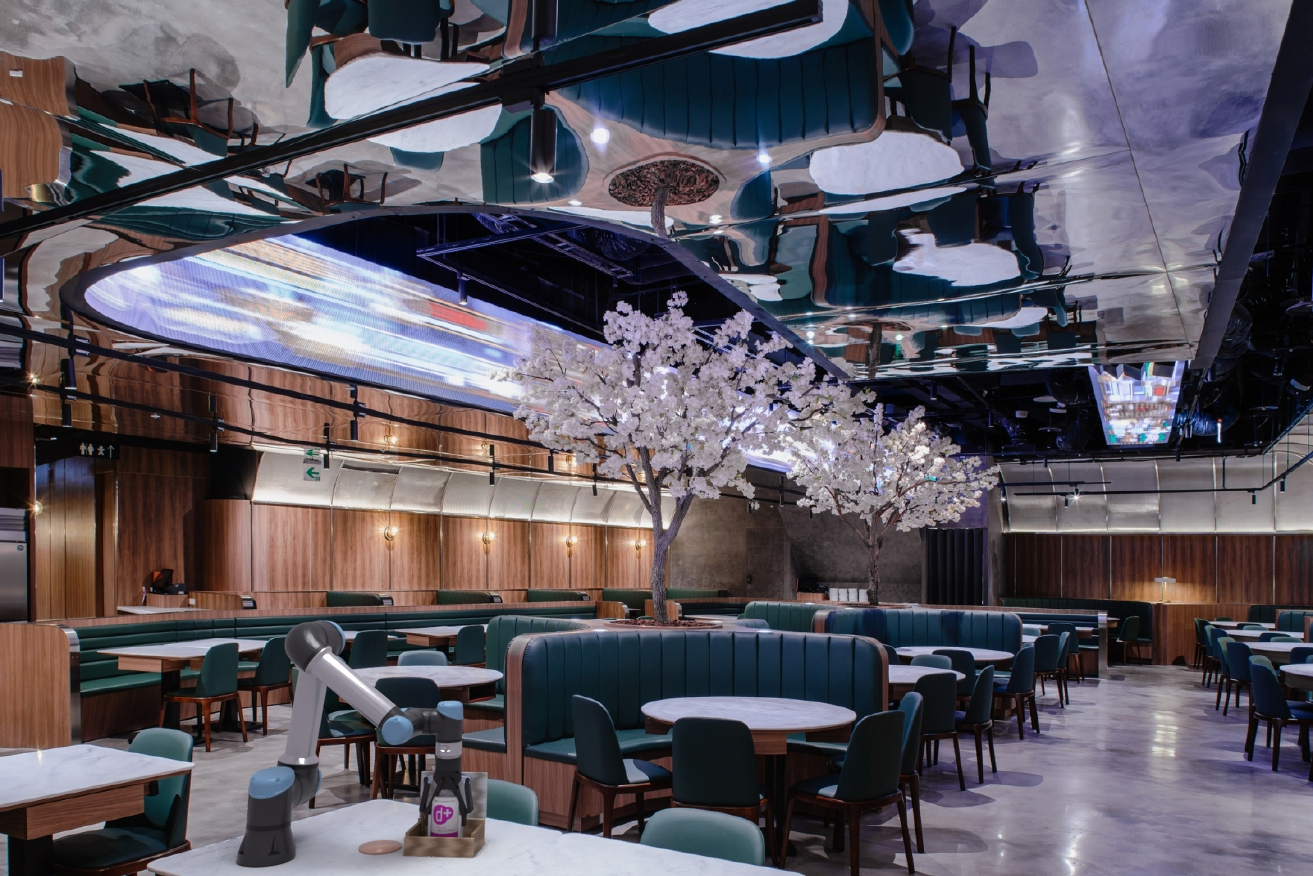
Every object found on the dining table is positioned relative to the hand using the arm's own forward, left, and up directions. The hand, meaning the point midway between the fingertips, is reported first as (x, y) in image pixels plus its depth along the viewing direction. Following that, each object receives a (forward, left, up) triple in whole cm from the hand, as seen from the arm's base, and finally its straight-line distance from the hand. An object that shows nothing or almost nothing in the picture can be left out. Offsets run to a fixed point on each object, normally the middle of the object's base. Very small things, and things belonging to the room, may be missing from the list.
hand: (445, 837), depth 258 cm
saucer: (-19, 0, -3) cm, 19 cm away
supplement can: (0, 0, -3) cm, 3 cm away
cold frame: (0, 0, -3) cm, 3 cm away
